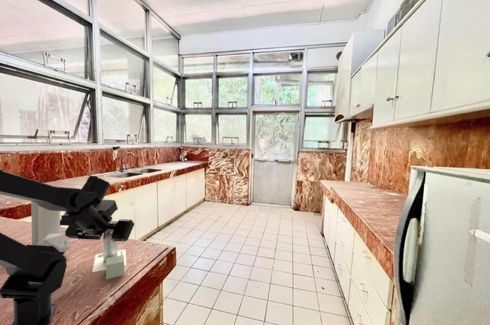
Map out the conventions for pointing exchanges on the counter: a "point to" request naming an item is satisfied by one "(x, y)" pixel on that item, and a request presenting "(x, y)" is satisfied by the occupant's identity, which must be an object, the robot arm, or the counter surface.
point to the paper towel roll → (44, 222)
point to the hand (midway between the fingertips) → (113, 239)
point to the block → (115, 267)
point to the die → (56, 242)
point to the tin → (109, 245)
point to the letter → (101, 265)
